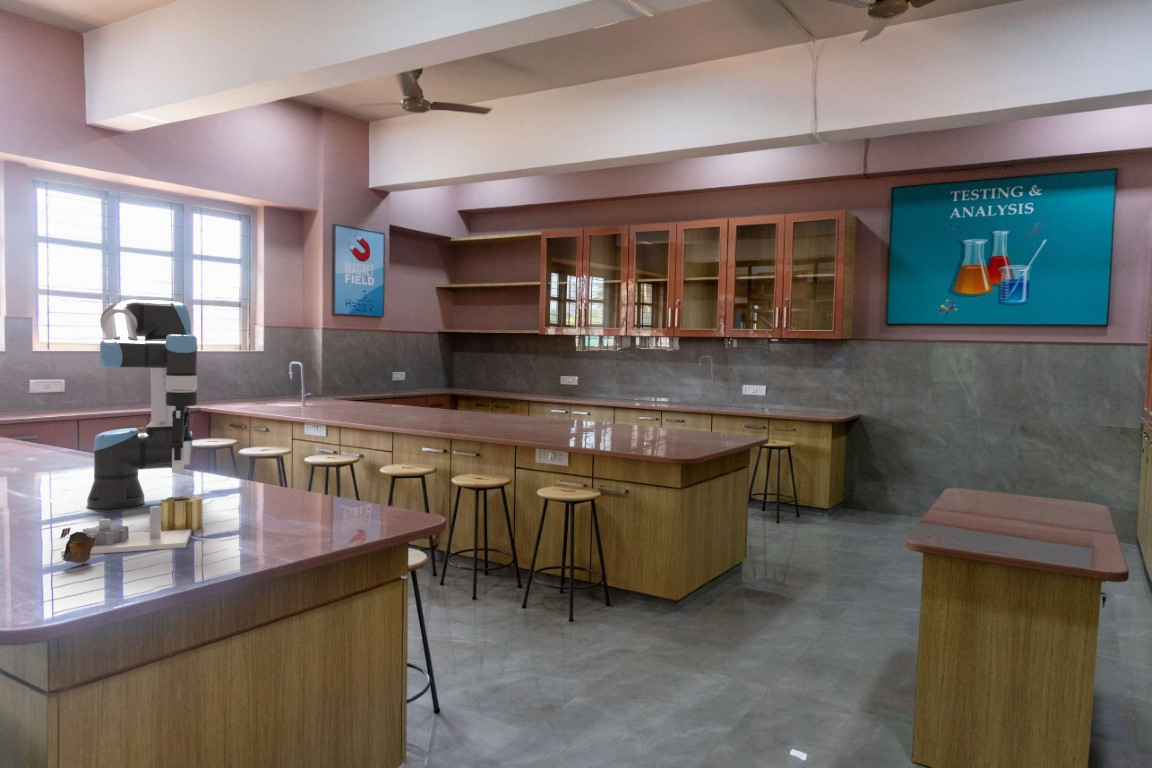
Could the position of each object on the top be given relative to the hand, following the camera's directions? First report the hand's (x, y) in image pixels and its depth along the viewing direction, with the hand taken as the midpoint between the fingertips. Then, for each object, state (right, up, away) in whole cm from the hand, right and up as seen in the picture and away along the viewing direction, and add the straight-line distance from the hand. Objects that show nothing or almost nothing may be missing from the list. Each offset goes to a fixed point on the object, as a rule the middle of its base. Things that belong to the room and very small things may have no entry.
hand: (181, 468), depth 200 cm
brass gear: (0, -17, +1) cm, 17 cm away
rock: (-5, -18, -36) cm, 40 cm away
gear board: (-4, -17, -16) cm, 24 cm away
